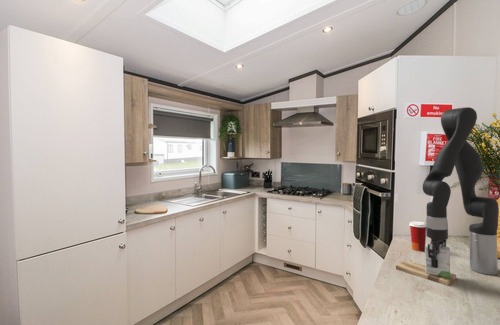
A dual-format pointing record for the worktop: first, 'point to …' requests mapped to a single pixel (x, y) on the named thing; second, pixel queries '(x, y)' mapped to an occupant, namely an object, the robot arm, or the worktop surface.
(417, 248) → the coffee cup
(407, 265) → the board
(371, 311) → the worktop surface
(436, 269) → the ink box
